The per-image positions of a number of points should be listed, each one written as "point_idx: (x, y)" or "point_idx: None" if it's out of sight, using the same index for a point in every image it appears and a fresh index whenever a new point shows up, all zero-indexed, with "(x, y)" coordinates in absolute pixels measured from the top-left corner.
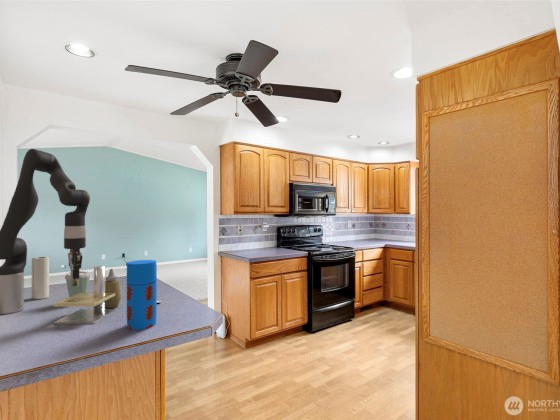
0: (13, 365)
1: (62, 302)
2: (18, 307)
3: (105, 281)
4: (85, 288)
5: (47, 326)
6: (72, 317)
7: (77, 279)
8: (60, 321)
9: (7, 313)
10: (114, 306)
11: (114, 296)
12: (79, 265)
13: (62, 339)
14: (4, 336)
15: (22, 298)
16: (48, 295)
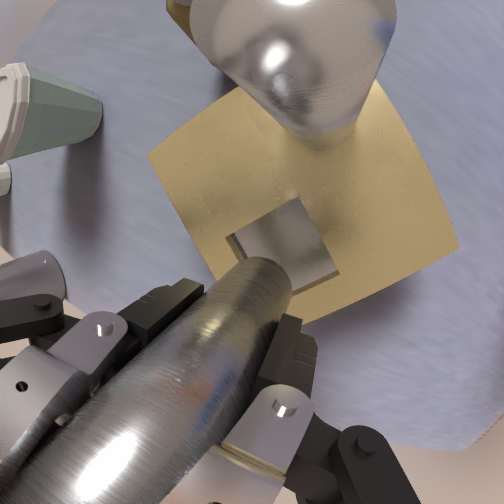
0: (451, 442)
1: None
2: (53, 276)
3: (181, 9)
4: (66, 91)
5: None
6: (283, 237)
7: (280, 312)
8: (292, 289)
9: (64, 295)
10: None
11: None
12: (354, 480)
13: (446, 357)
14: None
15: (30, 270)
16: (5, 165)
